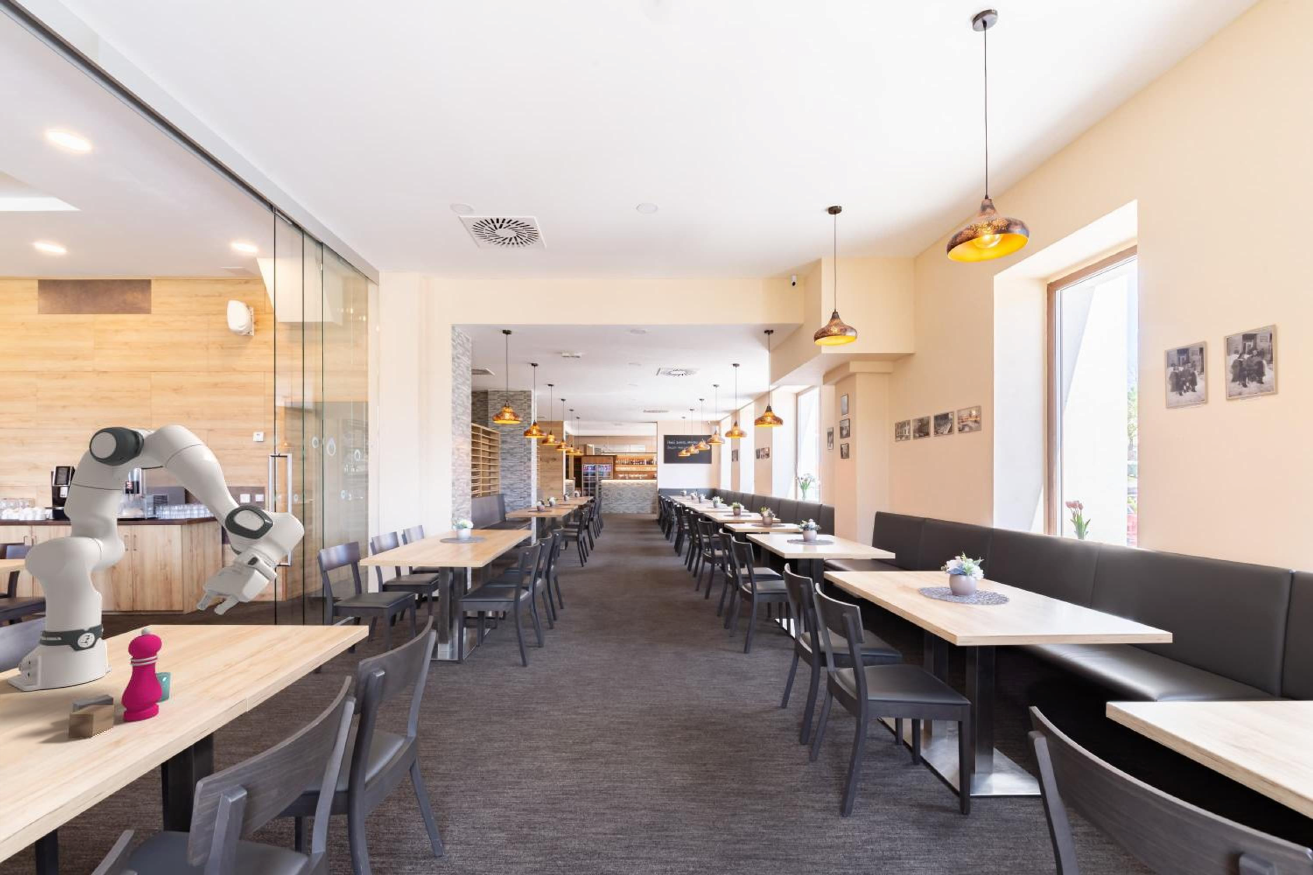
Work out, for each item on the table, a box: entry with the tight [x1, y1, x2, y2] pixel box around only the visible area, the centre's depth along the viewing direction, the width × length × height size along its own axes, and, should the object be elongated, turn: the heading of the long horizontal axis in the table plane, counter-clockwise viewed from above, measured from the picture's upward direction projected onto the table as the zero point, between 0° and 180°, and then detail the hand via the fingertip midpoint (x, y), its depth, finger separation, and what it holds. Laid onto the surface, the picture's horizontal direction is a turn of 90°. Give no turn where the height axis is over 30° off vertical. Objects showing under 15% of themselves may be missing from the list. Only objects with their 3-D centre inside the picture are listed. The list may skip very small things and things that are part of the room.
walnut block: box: [67, 704, 115, 739], centre depth 130 cm, size 5×5×5 cm
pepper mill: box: [120, 627, 163, 723], centre depth 140 cm, size 7×7×20 cm
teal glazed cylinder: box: [155, 671, 172, 704], centre depth 149 cm, size 5×5×6 cm
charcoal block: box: [71, 693, 114, 713], centre depth 139 cm, size 4×6×4 cm, turn 147°
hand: (208, 610), depth 151 cm, fingers open, 8 cm apart
